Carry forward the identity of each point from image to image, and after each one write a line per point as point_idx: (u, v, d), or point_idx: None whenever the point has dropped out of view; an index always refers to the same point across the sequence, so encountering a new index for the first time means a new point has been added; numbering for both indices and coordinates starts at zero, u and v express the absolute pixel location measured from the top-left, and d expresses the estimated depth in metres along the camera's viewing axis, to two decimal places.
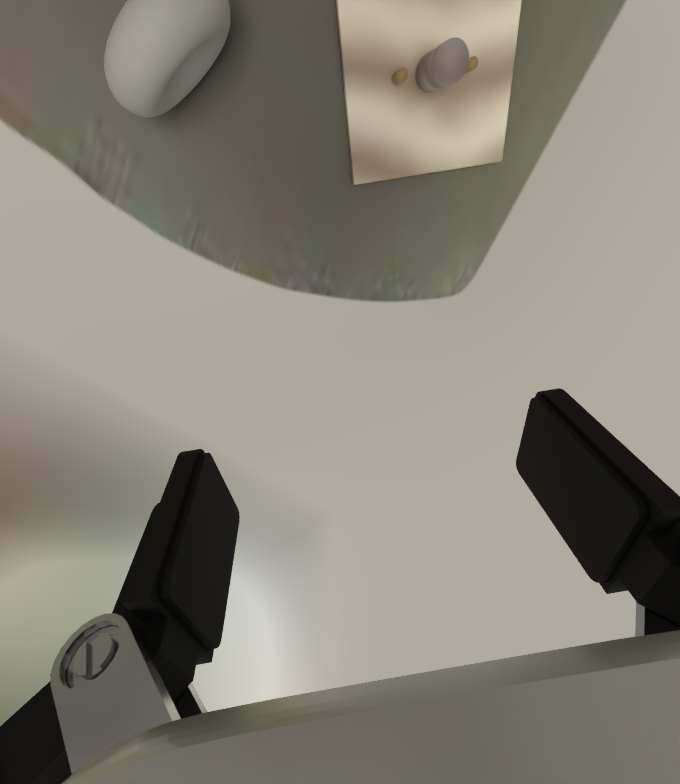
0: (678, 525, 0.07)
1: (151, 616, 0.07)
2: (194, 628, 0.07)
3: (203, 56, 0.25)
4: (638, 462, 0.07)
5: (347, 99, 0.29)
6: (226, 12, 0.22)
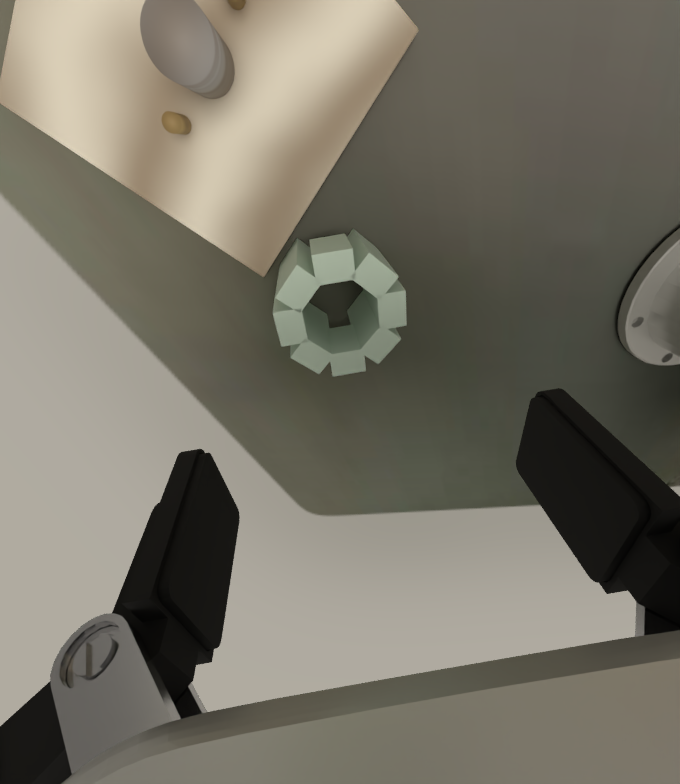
0: (678, 525, 0.07)
1: (151, 616, 0.07)
2: (194, 628, 0.07)
3: None
4: (638, 462, 0.07)
5: None
6: None
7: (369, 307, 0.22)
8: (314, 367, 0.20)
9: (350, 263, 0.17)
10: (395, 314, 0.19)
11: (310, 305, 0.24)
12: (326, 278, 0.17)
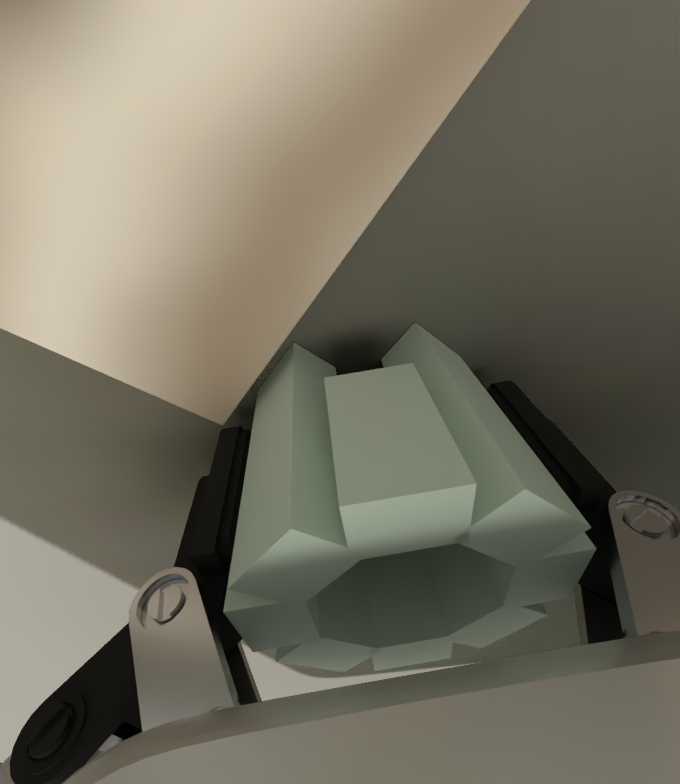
0: (602, 504, 0.07)
1: (212, 571, 0.07)
2: None
3: None
4: (569, 447, 0.08)
5: None
6: None
7: None
8: (333, 666, 0.09)
9: (460, 514, 0.05)
10: (550, 585, 0.07)
11: None
12: (381, 547, 0.06)
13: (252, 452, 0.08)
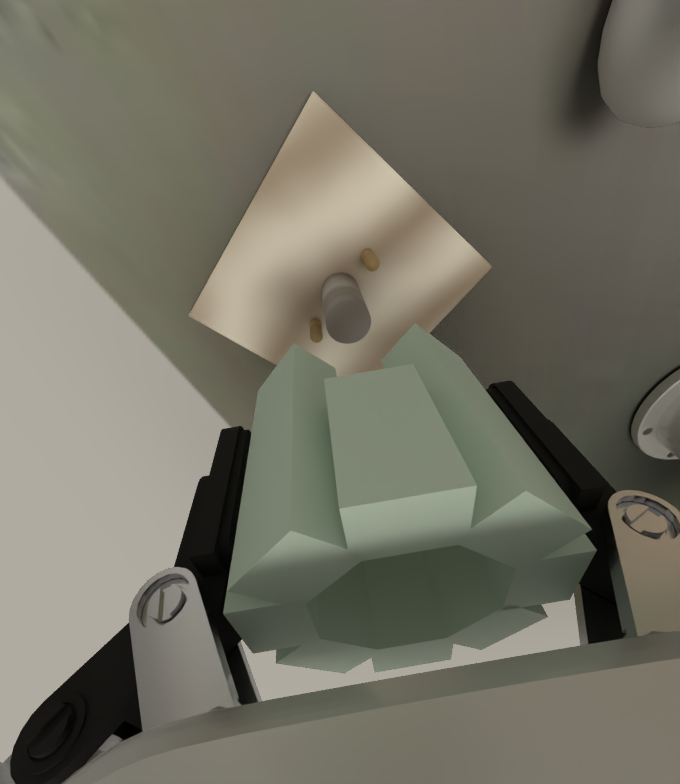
0: (602, 504, 0.07)
1: (212, 571, 0.07)
2: None
3: (641, 16, 0.15)
4: (568, 447, 0.08)
5: (403, 182, 0.19)
6: (648, 97, 0.14)
7: None
8: (333, 667, 0.09)
9: (460, 516, 0.05)
10: (550, 587, 0.07)
11: None
12: (381, 548, 0.06)
13: (252, 453, 0.08)
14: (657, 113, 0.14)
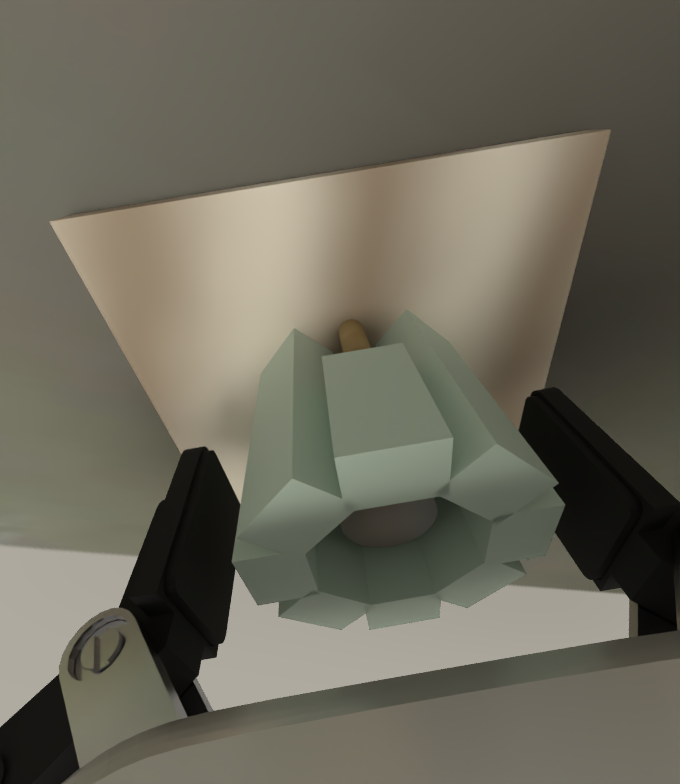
0: (670, 522, 0.07)
1: (157, 611, 0.07)
2: (199, 623, 0.07)
3: None
4: (631, 460, 0.07)
5: (298, 184, 0.09)
6: None
7: None
8: (331, 622, 0.09)
9: (440, 467, 0.06)
10: (526, 542, 0.08)
11: None
12: (372, 498, 0.06)
13: (256, 426, 0.09)
14: None
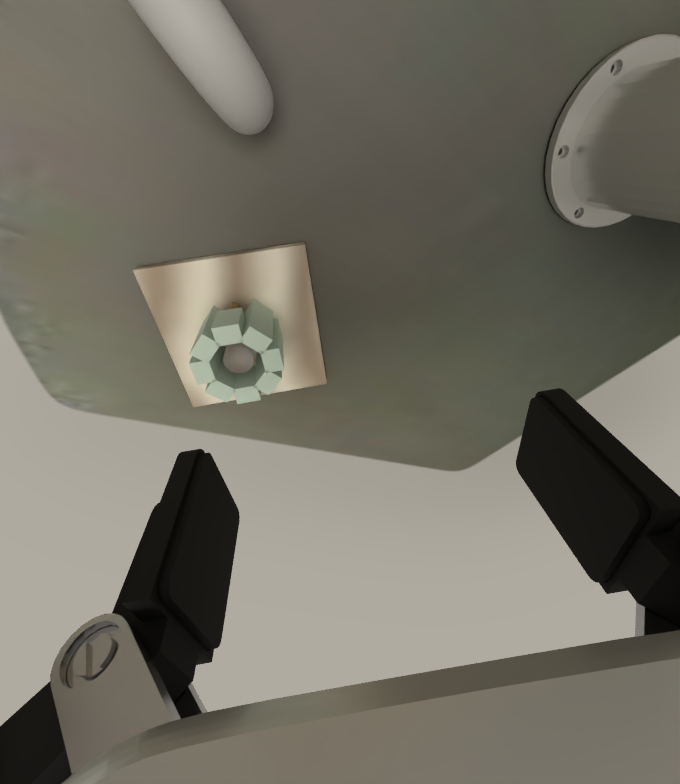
0: (678, 525, 0.07)
1: (151, 616, 0.07)
2: (194, 628, 0.07)
3: None
4: (638, 462, 0.07)
5: (210, 259, 0.29)
6: (238, 130, 0.21)
7: None
8: (223, 397, 0.29)
9: (238, 332, 0.26)
10: (275, 363, 0.28)
11: None
12: (223, 342, 0.26)
13: (198, 334, 0.29)
14: (251, 130, 0.20)
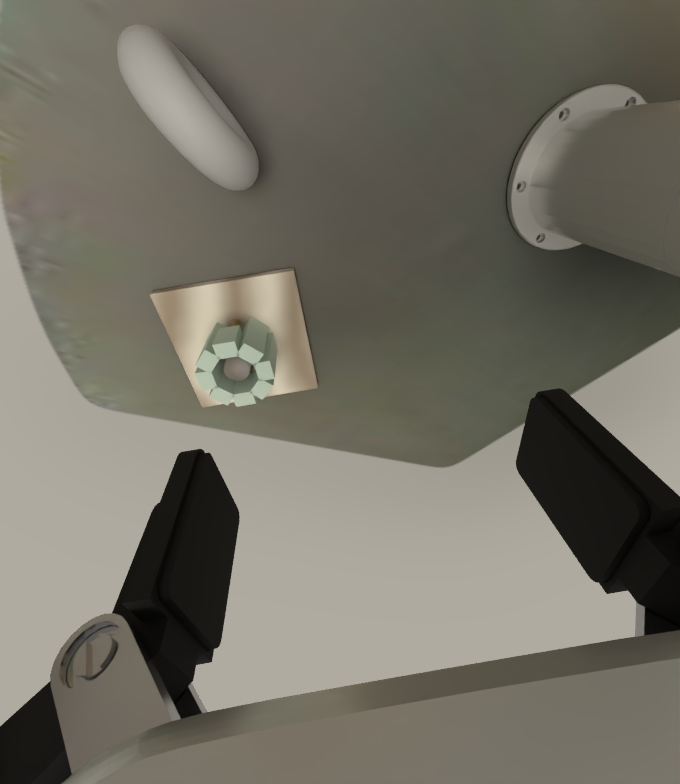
0: (678, 525, 0.07)
1: (151, 616, 0.07)
2: (194, 628, 0.07)
3: None
4: (638, 462, 0.07)
5: (213, 284, 0.34)
6: None
7: None
8: (224, 401, 0.34)
9: (234, 348, 0.31)
10: (266, 373, 0.33)
11: None
12: (222, 356, 0.32)
13: (203, 347, 0.34)
14: (240, 189, 0.25)
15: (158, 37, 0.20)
